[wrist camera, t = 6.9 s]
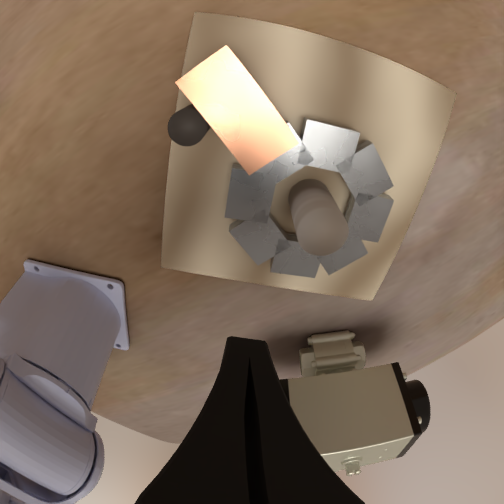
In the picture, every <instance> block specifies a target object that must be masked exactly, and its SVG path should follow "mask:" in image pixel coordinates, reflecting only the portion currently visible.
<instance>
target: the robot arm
mask: <svg viewBox="0 0 504 504" xmlns="http://www.w3.org/2000/svg"><path fill="white" fill-rule="evenodd" d="M37 267H38V268H37ZM24 269H25V272H24V273H23V275H22V276H21V277H20V278H19V279H18V281H17V282H16V283H15V285H14V286H13V287H12V288H11V290H10V291H9V292H8V294H7V295H6V296H5V298H4V299H3V300H2V302H1V303H0V504H75V503H76V502H77V501H78V500H80V499H81V498H83V497H85V496H86V495H87V494H89V493H90V492H91V491H92V490H93V489H94V487H95V486H96V485H97V483H98V481H99V480H100V477H101V475H102V471H103V467H104V446H103V442H102V439H101V437H100V435H99V434H98V433H97V432H96V431H95V426H96V423H97V418H96V417H95V416H93V415H92V414H91V413H90V411H91V408H92V405H93V402H94V399H95V396H96V393H97V390H98V387H99V384H100V381H101V379H102V376H103V373H104V370H105V367H106V365H107V362H108V359H109V357H110V354H111V351H112V349H113V348H117V349H121V350H128V349H129V346H130V344H129V336H128V327H127V317H126V306H125V294H124V285H123V283H122V282H121V281H119V280H115V279H111V278H106V277H101V276H97V275H92V274H88V273H83V272H79V271H74V270H70V269H66V268H62V267H57V266H53V265H49V264H45V263H41V262H37V261H33V260H29V259H27V260H25V262H24ZM110 284H111V285H113V286H111V285H110ZM135 504H365V503H364V502H363V501H362V500H361V499H360V498H359V497H358V496H357V495H356V494H355V493H353V492H352V491H351V490H350V488H348V487H347V486H346V485H345V483H344V482H343V481H342V480H341V479H340V478H339V477H338V476H337V475H336V473H335V472H334V471H333V470H332V469H331V467H330V466H329V465H328V464H327V462H326V461H325V460H324V458H323V457H322V456H321V455H320V453H319V452H318V451H317V449H316V448H315V446H314V445H313V443H312V442H311V440H310V439H309V437H308V436H307V434H306V432H305V431H304V429H303V428H302V426H301V424H300V422H299V420H298V419H297V417H296V415H295V413H294V411H293V409H292V407H291V405H290V403H289V401H288V399H287V397H286V394H285V392H284V390H283V388H282V385H281V383H280V381H279V378H278V376H277V373H276V370H275V367H274V365H273V362H272V359H271V356H270V352H269V349H268V345H267V343H266V342H265V341H262V340H254V339H247V338H240V337H233V336H231V337H228V338H227V341H226V346H225V350H224V354H223V359H222V363H221V368H220V371H219V373H218V376H217V378H216V381H215V383H214V386H213V388H212V390H211V392H210V394H209V396H208V398H207V400H206V402H205V404H204V406H203V408H202V410H201V412H200V414H199V416H198V417H197V419H196V421H195V422H194V424H193V426H192V427H191V429H190V431H189V432H188V434H187V435H186V437H185V438H184V440H183V441H182V443H181V444H180V446H179V447H178V449H177V450H176V452H175V453H174V454H173V456H172V457H171V458H170V460H169V461H168V462H167V464H166V465H165V466H164V467H163V469H162V470H161V471H160V472H159V474H158V475H157V476H156V477H155V478H154V479H153V481H152V482H151V483H150V484H149V485H148V486H147V487H146V488H145V490H144V491H143V492H142V493H141V494H140V496H139V497H138V499H137V501H136V503H135Z"/></svg>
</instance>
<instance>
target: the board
mask: <svg viewBox="0 0 504 504" xmlns="http://www.w3.org/2000/svg"><path fill="white" fill-rule="evenodd" d="M226 45H227V46H228V47H229V48H230V49H231V51H232V52H233V53H234V54H235V55H236V57H237V58H238V59H239V60H240V62H241V63H242V64H243V66H244V67H245V68H246V69H247V71H248V72H249V73H250V75H251V76H252V77H253V78H254V80H255V81H256V82H257V84H258V85H259V86H260V88H261V89H262V90H263V92H264V93H265V94H266V96H267V97H268V99H269V100H270V101H271V103H272V104H273V105H274V107H275V108H276V110H277V111H278V112H279V114H280V115H281V117H282V118H283V119H284V121H287V120H288V122H289V123H290V125H291V126H292V128H293V129H294V130H295V132H296V133H297V135H298V136H299V138H300V135H301V130H302V126H303V121H304V117H306V118H310V119H315V120H319V121H323V122H327V123H331V124H335V125H339V126H343V127H347V128H350V129H354V130H356V131H358V132H360V136H359V140H358V143H357V146H358V145H359V144H361V143H363V142H364V141H366V140H369V141H370V142H372V143H373V144H374V146H375V148H376V150H377V152H378V154H379V156H380V158H381V160H382V162H383V164H384V166H385V168H386V170H387V173H388V175H389V177H390V179H391V181H392V183H393V185H394V186H393V187H392V188H390V189H388V190H387V191H385V192H383V194H387V195H389V196H390V197H391V198H392V199H393V200H394V202H393V205H392V208H391V210H390V213H389V216H388V218H387V221H386V224H385V226H384V229H383V231H382V234H381V236H380V239H379V241H378V243H377V242H371V241H366V240H362V242H363V244H364V246H365V248H366V250H367V251H368V254H366V255H365V256H363V257H361V258H359V259H357V260H356V261H354V262H352V263H350V264H349V265H347V266H345V267H343V268H341V269H340V270H338V271H336V272H334V273H332V274H331V275H328V273H327V272H326V270H325V269H324V267H323V266H322V265H321V263H320V265H319V268H318V271H317V274H316V277H315V278H310V277H303V276H295V275H288V274H280V273H273V272H270V261H271V258H270V259H269V260H267V261H265V262H263V263H262V264H260V265H257V264H256V263H255V262H254V261H253V259H252V258H251V257H250V256H249V255H248V254H247V252H246V251H245V250H244V249H243V248H242V247H241V245H240V244H239V243H238V242H237V241H236V239H235V238H234V237H233V236H232V235H231V234H230V232H229V226H230V224H231V223H233V222H234V221H236V220H238V219H232V218H225V211H226V204H227V197H228V191H229V184H230V178H231V171H232V166H233V164H239V165H241V164H240V163H239V162H238V160H237V159H236V158H235V157H234V155H233V154H232V153H231V151H230V150H229V149H228V148H227V146H226V145H225V144H224V142H223V141H222V140H221V139H220V137H219V136H218V135H217V134H216V132H215V131H214V130H213V129H212V127H211V126H210V125H209V124H208V122H207V121H206V120H205V119H204V117H203V116H202V115H201V114H200V112H199V111H198V110H197V109H196V107H195V106H194V105H193V104H192V103H191V101H190V100H189V99H188V98H187V96H186V95H185V94H184V93H183V92H182V90H181V89H180V88H179V93H178V99H177V105H176V112H175V113H174V114H173V115H172V117H171V118H170V120H169V122H168V133H169V136H170V138H171V139H172V141H171V149H170V157H169V166H168V175H167V185H166V196H165V207H164V220H163V235H162V253H161V267H162V268H167V269H173V270H178V271H184V272H190V273H195V274H201V275H207V276H213V277H218V278H224V279H230V280H236V281H242V282H248V283H255V284H261V285H267V286H273V287H280V288H286V289H293V290H300V291H306V292H313V293H320V294H327V295H334V296H341V297H348V298H355V299H363V300H370V301H372V300H373V298H374V296H375V294H376V293H377V291H378V289H379V287H380V285H381V283H382V281H383V279H384V277H385V275H386V273H387V271H388V269H389V267H390V265H391V263H392V261H393V259H394V257H395V255H396V253H397V251H398V249H399V247H400V245H401V243H402V241H403V239H404V236H405V234H406V232H407V230H408V228H409V225H410V223H411V221H412V219H413V216H414V214H415V212H416V209H417V207H418V205H419V202H420V200H421V197H422V195H423V192H424V190H425V187H426V185H427V182H428V180H429V177H430V174H431V172H432V169H433V166H434V164H435V161H436V158H437V155H438V153H439V150H440V147H441V144H442V141H443V138H444V135H445V132H446V129H447V125H448V122H449V119H450V116H451V112H452V109H453V105H454V102H455V98H456V95H457V93H455V92H454V91H452V90H450V89H448V88H447V87H445V86H443V85H441V84H439V83H437V82H435V81H434V80H432V79H430V78H428V77H426V76H424V75H422V74H420V73H418V72H416V71H413V70H411V69H409V68H407V67H405V66H403V65H400V64H398V63H396V62H394V61H391V60H389V59H387V58H384V57H382V56H379V55H377V54H374V53H372V52H369V51H367V50H364V49H361V48H358V47H356V46H353V45H350V44H347V43H344V42H341V41H338V40H335V39H332V38H329V37H325V36H322V35H318V34H315V33H311V32H308V31H304V30H300V29H296V28H292V27H288V26H284V25H279V24H275V23H270V22H265V21H260V20H254V19H248V18H242V17H236V16H229V15H221V14H212V13H203V12H195V13H194V18H193V22H192V26H191V31H190V35H189V40H188V45H187V50H186V55H185V60H184V65H183V70H182V76H181V78H182V77H183V76H184V75H185V74H187V73H188V72H189V71H191V70H192V69H193V68H195V67H196V66H197V65H199V64H200V63H201V62H203V61H204V60H206V59H207V58H208V57H210V56H211V55H213V54H214V53H215V52H217V51H218V50H220V49H221V48H223V47H224V46H226ZM350 197H351V192H350V191H349V189H348V187H347V185H346V184H345V182H344V180H343V178H342V177H341V175H340V173H339V172H335V171H331V170H326V169H321V168H317V167H312V166H307V165H306V166H304V167H303V168H301V169H299V170H298V171H296V172H295V173H293V174H291V175H290V176H288V177H287V178H285V179H283V180H282V181H280V182H279V183H277V184H276V186H275V190H274V195H273V199H272V204H271V208H270V213H271V214H272V215H273V217H274V218H275V219H276V221H277V222H278V223H279V225H280V226H281V227H282V229H283V230H284V231H285V233H288V234H294V235H297V239H298V242H299V244H300V246H301V247H302V249H303V250H304V251H306V252H307V253H309V254H312V255H316V256H325V255H329V254H332V253H334V252H336V251H337V250H339V249H340V248H341V247H342V246H343V245H344V243H345V242H346V240H347V237H348V233H349V228H348V224H347V221H346V219H345V218H344V216H345V213H346V210H347V207H348V204H349V200H350Z"/></svg>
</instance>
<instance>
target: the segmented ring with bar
mask: <svg viewBox="0 0 504 504" xmlns="http://www.w3.org/2000/svg"><path fill="white" fill-rule="evenodd" d="M175 83H176V84H177V85H178V87H179V88H180V89H181V90H182V92H183V93H184V94H185V95H186V96H187V98H188V99H189V100H190V101H191V103H192V104H193V105H194V106H195V107H196V109H197V110H198V111H199V112H200V114H201V115H202V116H203V117H204V119H205V120H206V121H207V122H208V124H209V125H210V126H211V127H212V129H213V130H214V131H215V132H216V134H217V135H218V136H219V137H220V139H221V140H222V141H223V142H224V144H225V145H226V146H227V148H228V149H229V150H230V151H231V153H232V154H233V155H234V157H235V158H236V159H237V160H238V162H239V163H240V164H241V165H239V164H233V166H232V171H231V178H230V184H229V191H228V197H227V204H226V211H225V218H232V219H238V220H236V221H234V222H233V223H231V224H230V226H229V232H230V234H231V235H232V236H233V237H234V238H235V239H236V241H237V242H238V243H239V244H240V245H241V247H242V248H243V249H244V250H245V251H246V252H247V254H248V255H249V256H250V257H251V258H252V259H253V261H254V262H255V263H256V264H257V265H260V264H262V263H263V262H265V261H267V260H269V259H270V258H271V261H270V272H273V273H280V274H288V275H295V276H303V277H310V278H315V277H316V274H317V271H318V268H319V265H320V263H321V265H322V266H323V267H324V269H325V270H326V272H327V273H328V275H331V274H332V273H334V272H336V271H338V270H340V269H341V268H343V267H345V266H347V265H349V264H350V263H352V262H354V261H356V260H357V259H359V258H361V257H363V256H365V255H366V254H368V251H367V250H366V248H365V246H364V244H363V242H362V240H366V241H371V242H377V243H378V241H379V239H380V236H381V234H382V231H383V229H384V226H385V224H386V221H387V218H388V216H389V213H390V210H391V208H392V205H393V202H394V200H393V199H392V198H391V197H390V196H389V195H387V194H383V192H385V191H387V190H388V189H390V188H392V187H393V186H394V185H393V183H392V181H391V179H390V177H389V175H388V173H387V170H386V168H385V166H384V164H383V162H382V160H381V158H380V156H379V154H378V152H377V150H376V148H375V146H374V144H373V143H372V142H370V141H369V140H366V141H364V142H363V143H361V144H359V145H358V146H357V143H358V140H359V136H360V132H358V131H356V130H354V129H350V128H347V127H343V126H339V125H335V124H331V123H327V122H323V121H319V120H315V119H310V118H306V117H304V121H303V126H302V130H301V135H300V138H299V136H298V135H297V133H296V132H295V130H294V129H293V128H292V126H291V125H290V123H289V122H288V120H287V121H284V119H283V118H282V117H281V115H280V114H279V112H278V111H277V110H276V108H275V107H274V105H273V104H272V103H271V101H270V100H269V99H268V97H267V96H266V94H265V93H264V92H263V90H262V89H261V88H260V86H259V85H258V84H257V82H256V81H255V80H254V78H253V77H252V76H251V75H250V73H249V72H248V71H247V69H246V68H245V67H244V66H243V64H242V63H241V62H240V60H239V59H238V58H237V57H236V55H235V54H234V53H233V52H232V51H231V49H230V48H229V47H228V46H227V45H226V46H224V47H223V48H221V49H220V50H218V51H217V52H215V53H214V54H213V55H211V56H210V57H208V58H207V59H206V60H204V61H203V62H201V63H200V64H199V65H197V66H196V67H195V68H193V69H192V70H191V71H189V72H188V73H187V74H185V75H184V76H183V77H182V78H180V79H179V80H178V81H177V82H175ZM306 165H307V166H312V167H317V168H321V169H326V170H331V171H335V172H339V173H340V175H341V177H342V178H343V180H344V182H345V184H346V185H347V187H348V189H349V191H350V192H351V197H350V200H349V204H348V207H347V210H346V213H345V216H344V218H345V219H346V221H347V224H348V228H349V233H348V237H347V240H346V242H345V243H344V245H343V246H342V247H341V248H340V249H339V250H337V251H336V252H334V253H332V254H329V255H325V256H316V255H312V254H309V253H307V252H306V251H304V250H303V249H302V247H301V246H300V244H299V242H298V239H297V235H294V234H288V233H285V231H284V230H283V229H282V227H281V226H280V225H279V223H278V222H277V221H276V219H275V218H274V217H273V215H272V214H271V213H270V208H271V204H272V199H273V195H274V190H275V186H276V184H277V183H279V182H280V181H282V180H283V179H285V178H287V177H288V176H290V175H291V174H293V173H295V172H296V171H298V170H299V169H301V168H303V167H304V166H306Z"/></svg>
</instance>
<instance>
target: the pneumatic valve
mask: <svg viewBox="0 0 504 504" xmlns="http://www.w3.org/2000/svg"><path fill="white" fill-rule="evenodd" d="M354 337H355V334H353V332H349V330H347V331H339V332H332V333H324V334H316V335H311V337H309V338H308V339H307V340H308V345H311V347H310V348H301V349H300V351H299V357H300V369H301V375H302V376H303V377H301V378H292V379H281V380H279V381H280V383H281V385H282V388H283V390H284V392H285V394H286V397H287V399H288V401H289V403H290V405H291V407H292V409H293V411H294V413H295V415H296V417H297V419H298V420H299V422H300V424H301V426H302V428H303V429H304V431H305V432H306V434H307V436H308V437H309V439H310V440H311V442H312V443H313V445H314V446H315V448H316V449H317V451H318V452H319V453H320V455H321V456H322V457H323V458H324V460H325V461H326V462H327V464H328V465H329V466H330V467H331V469H332V470H333V471H334V472H338V471H339V470H344V469H346V475H347V476H352V474H353V473H354V474H355V475H358V474H359V473H361V471H360V466H365V465H370V464H374V463H379V462H383V461H387V460H390V459H394V458H398V457H402V456H403V455H404V454H405V453H406V452H407V451H408V450H409V449H410V447H411V446H412V445H413V444H414V443H415V441H416V440H417V439H418V438H419V436H420V435H421V434H422V433H423V432H424V431H425V430H426V429H427V427H428V425H429V421H430V402H429V397H428V394H427V391H426V389H425V387H424V386H423V384H422V383H421V382H420V381H418V380H412V381H408V382H405V380H406V377H407V375H406V373H402V371H401V368H400V365H399V363H398V362H396V363H391V364H386V365H381V366H376V367H370V368H365V369H363V368H364V366H365V363H366V354H365V348H364V345H363V343H362V342H360V341H355V342H351V340H352V339H354Z"/></svg>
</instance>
